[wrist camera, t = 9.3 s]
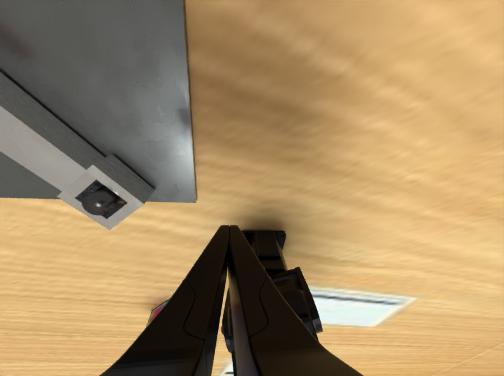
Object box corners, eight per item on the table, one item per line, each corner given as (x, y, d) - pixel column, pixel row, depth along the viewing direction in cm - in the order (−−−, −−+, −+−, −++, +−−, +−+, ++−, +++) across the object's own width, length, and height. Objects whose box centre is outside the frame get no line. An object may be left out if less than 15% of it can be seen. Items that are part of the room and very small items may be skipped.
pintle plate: (196, 200, 22) (188, 224, 18) (-14, 194, 19) (-79, 221, 15) (182, -22, 13) (159, -72, 9) (-224, -96, 10) (-531, -219, 6)
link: (154, 190, 20) (143, 204, 17) (123, 213, 21) (109, 229, 18) (-70, 0, 12) (-150, -23, 9) (-101, 55, 13) (-180, 47, 10)
